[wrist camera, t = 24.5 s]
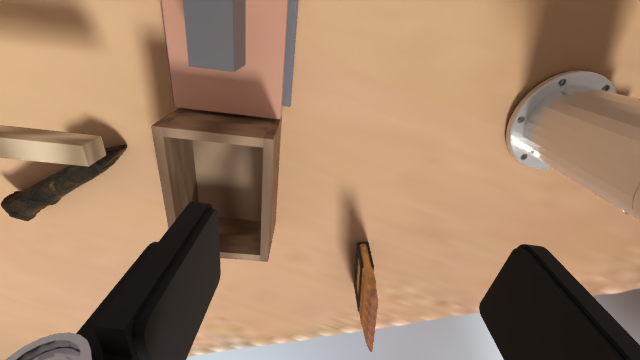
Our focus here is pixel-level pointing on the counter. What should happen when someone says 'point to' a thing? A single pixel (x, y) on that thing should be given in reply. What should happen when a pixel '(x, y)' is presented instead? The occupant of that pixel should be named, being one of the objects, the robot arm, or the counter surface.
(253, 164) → the toolbox
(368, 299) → the ammunition clip
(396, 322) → the counter surface
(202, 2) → the lid
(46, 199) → the black rough elongated piece
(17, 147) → the rectangular bar
